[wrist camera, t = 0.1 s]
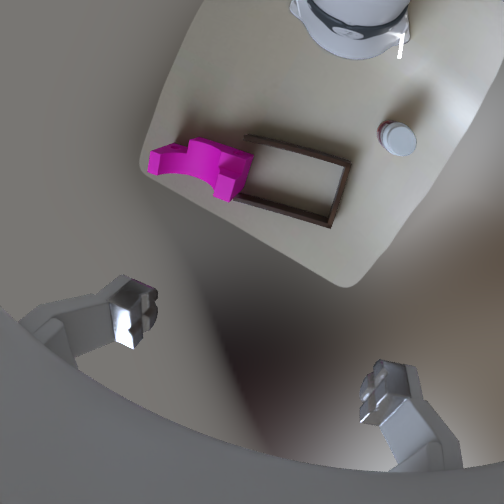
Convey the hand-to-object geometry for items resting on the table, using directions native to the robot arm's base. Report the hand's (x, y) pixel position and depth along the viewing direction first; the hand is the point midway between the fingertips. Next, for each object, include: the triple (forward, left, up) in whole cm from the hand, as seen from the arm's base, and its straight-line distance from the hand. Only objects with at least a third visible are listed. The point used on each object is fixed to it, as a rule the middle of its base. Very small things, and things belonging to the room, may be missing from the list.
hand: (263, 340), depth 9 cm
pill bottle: (-6, +10, -39) cm, 41 cm away
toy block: (+6, -18, -39) cm, 43 cm away
